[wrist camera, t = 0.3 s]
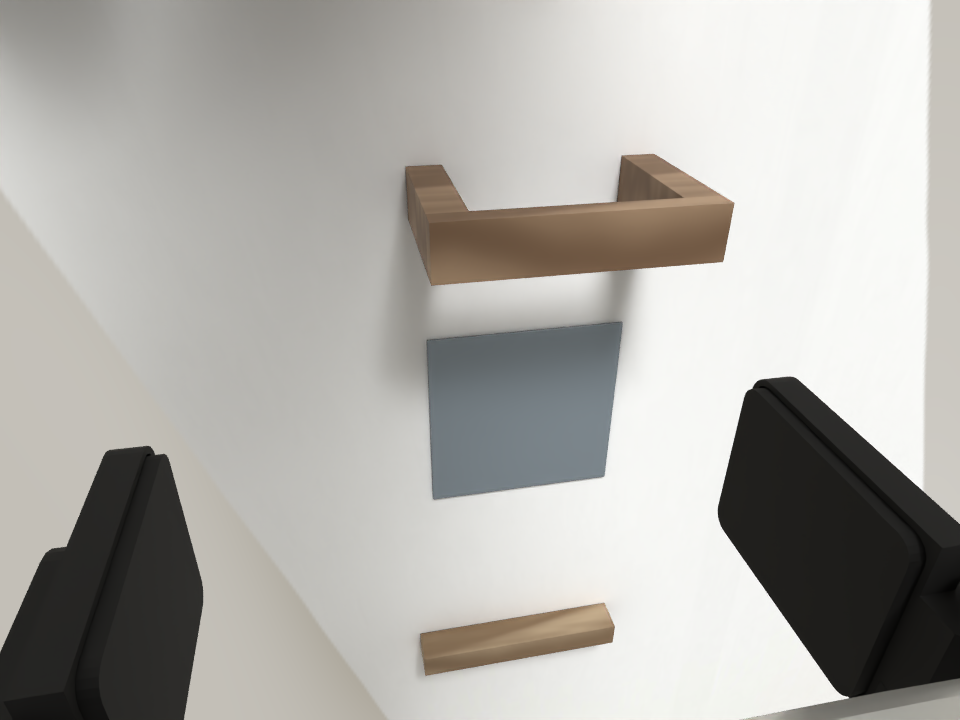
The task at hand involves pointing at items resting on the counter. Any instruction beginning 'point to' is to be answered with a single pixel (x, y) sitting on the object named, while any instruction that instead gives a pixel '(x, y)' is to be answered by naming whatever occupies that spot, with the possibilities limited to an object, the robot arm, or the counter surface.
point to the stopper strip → (516, 638)
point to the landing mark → (521, 407)
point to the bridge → (569, 227)
